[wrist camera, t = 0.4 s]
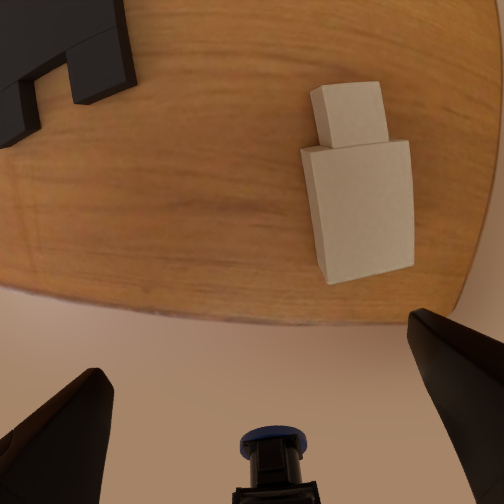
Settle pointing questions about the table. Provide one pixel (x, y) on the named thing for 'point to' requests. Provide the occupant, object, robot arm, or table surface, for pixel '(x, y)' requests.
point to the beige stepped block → (358, 185)
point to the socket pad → (59, 55)
